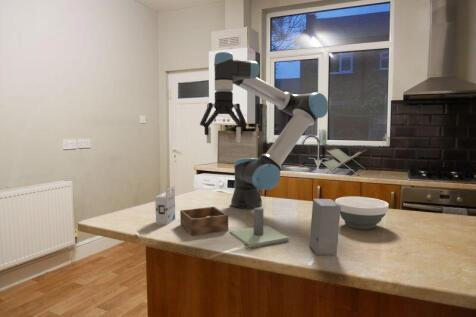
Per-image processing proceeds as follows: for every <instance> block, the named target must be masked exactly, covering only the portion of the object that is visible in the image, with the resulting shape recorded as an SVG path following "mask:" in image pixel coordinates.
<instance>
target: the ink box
mask: <svg viewBox="0 0 476 317" xmlns="http://www.w3.org/2000/svg"><path fill="white" fill-rule="evenodd" d="M175 189H176V188H175V185H173V186H170V187H169V188H167V189H165V192H162V193H161V194H159V195H156V196H155V197H154V198H155V201H154V202H155V225H160V226H161V225H162V226H168V225H169V224H170V223H172V222H173V221H175V220H176V192H175V191H176V190H175Z"/></svg>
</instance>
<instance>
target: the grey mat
mask: <svg viewBox="0 0 476 317" xmlns="http://www.w3.org/2000/svg"><path fill="white" fill-rule="evenodd" d="M282 242H283V243H286V242H289V240H287V241H282ZM282 242H276V243H271V244H272V245H276V244H281V243H282ZM271 244H265V245H266V246H271ZM265 245H260V246H261V247H266V246H265ZM244 246H245V247H246V246H247V245H245V243H244ZM254 247H255V248H259V246H254ZM254 247H248V246H247V249H249V248H250V249H255V248H254Z"/></svg>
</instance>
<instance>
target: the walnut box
mask: <svg viewBox="0 0 476 317" xmlns="http://www.w3.org/2000/svg"><path fill="white" fill-rule="evenodd" d="M179 212H180V214H179V216H180V218H179V219H180V226H181V227H182V228H183V229H184V230H185V231H186V232H187V233H188V234H189V235H190V236H191V237H192V236H199V235H207V234H213V233H219V232H226V231H227V232H228V231H229V214H227V213H225V212H224V211H222V210H220V209H219V208H217V207H216V206H207V207H198V208H191V209H181V210H180V211H179ZM207 216H210V217H207ZM193 218H195V219H193Z"/></svg>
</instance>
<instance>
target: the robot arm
mask: <svg viewBox="0 0 476 317" xmlns="http://www.w3.org/2000/svg"><path fill="white" fill-rule="evenodd" d="M213 60H214V61H213V62H214V63H213V65H214V91H215V92H214V103H213V102H208V103H207V105H206V110H205V111H204V114H203V116H202V119H201V121H200V122H199V126H202V127H203V129H204V135H205V136H206V144H211V143H212V137H211V136H212V131H211V127H210V126H211V124H212V123H213V122H214V120H215V119H216V118H217V117H218V115H229V116H230V117H231V119H232V120H233V121H234V123H235V124H236V128H235V130H236V132H235V133H236V134H235V136H236V139H235V140H236V142H235V143H241V142H242V139H241V138H242V136H241V135H243V127H245V126H247V122H246V120H245V117H244V114H243V112H242V110H241V105H240V103H233V101H234V99H233V98H234V95H233V94H234V93H233V92H232V91H233V88H234V86H233V85H235V86H237V87H239V88H241V89H243V90H245V91H247V92H249V93H250V94H253V95H255V96H256V97H259V98H260V99H262V100H265V101H267V102H268V103H270V104H272V105H275V107H276V108H277V109H278V110H280V111H282V112H283V113H285V114H287V115H289V116H291V118H290V119H289V121H288V122H287V124H286V126H284V128H283V130H282V131H281V132H280V133H279V135H278V136H277V138H276V139H275V140H274V141H273V143H272V145H271V146H270V147H269V149H268V150H267V152H266V153H262V154H260V155H259V157H258V158H257V157H252V158H251V157H250V158H248V157H247V158H236V159H235V161H234V166H233V167H234V191H233V194H232V197H231V200H230V205H231V206H232V207H234V208H237V209H238V208H239V209H254V208H261V207H262V206H263V200H262V197H261V193H260V190H262V191H268V190H269V191H271V190H272V189H274V188H276V186H277V185H278V184H279V182H280V180H281V171H282V167H283V166H282V164H283V163H284V162H285V160H286V159H287V157H288V155H289V154H290V153H291V152H292V150H293V149H294V147H295V146H296V144H297V143H298V141H299V140H300V138H301V137H302V136H303V134H304V133H305V131H306V130H307V129H308V127H311V126H314V124H315V123H316V121H317V120H318V119H321V118H324V117H325V116H326V115H327V113H329V112H328V111H329V101H328V98H327V97H326V96H325V95H324V94H323V93H320V92H311V93H303V94H294V93H292V92H291V93H290V92H289V91H285V92H284V91H282V90H281V89H279V88H277V87H275V86H273V85H271V84H270V83H267V82H266V81H264V80H262V79H260V78H259V73H260V65H259V63H258V62H257V61H254V60H250V59H249V60H245V59H238V58H237V59H235V58H234V56H233V53H232V52H229V51H228V52H227V51H222V52H217V53H216V54H214V59H213ZM212 109H215V110H214V111H213V113H212V114H211V111H212ZM233 109H234V110H235V112H236V114H235V112H234V111H233ZM210 114H211V115H210ZM209 116H210V117H209Z"/></svg>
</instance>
